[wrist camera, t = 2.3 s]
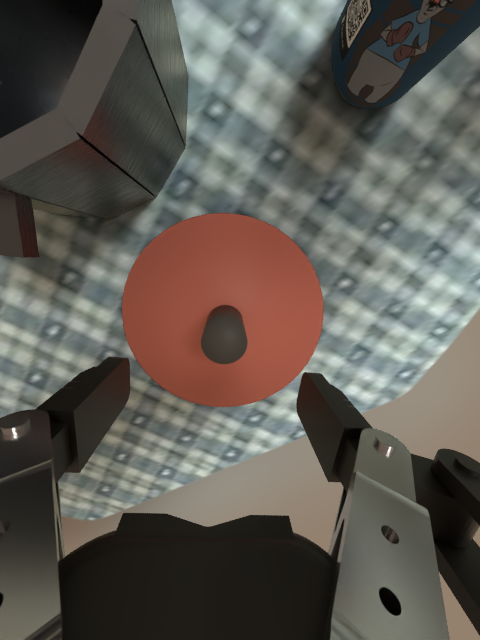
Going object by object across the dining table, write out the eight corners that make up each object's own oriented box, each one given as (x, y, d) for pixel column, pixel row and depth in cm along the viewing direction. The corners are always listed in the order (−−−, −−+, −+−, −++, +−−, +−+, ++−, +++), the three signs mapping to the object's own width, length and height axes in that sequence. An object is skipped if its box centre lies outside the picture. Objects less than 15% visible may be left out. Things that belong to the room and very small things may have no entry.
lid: (332, 230, 20) (385, 218, 14) (296, 399, 25) (322, 452, 19) (130, 204, 19) (74, 176, 12) (134, 388, 24) (96, 442, 17)
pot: (195, -107, 14) (126, -871, 5) (181, 264, 20) (139, 273, 11) (-105, -181, 13) (-1109, -1496, 3) (-21, 242, 19) (-272, 229, 9)
